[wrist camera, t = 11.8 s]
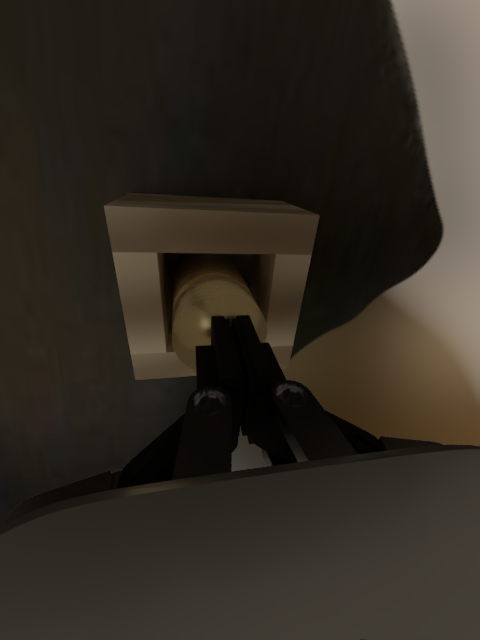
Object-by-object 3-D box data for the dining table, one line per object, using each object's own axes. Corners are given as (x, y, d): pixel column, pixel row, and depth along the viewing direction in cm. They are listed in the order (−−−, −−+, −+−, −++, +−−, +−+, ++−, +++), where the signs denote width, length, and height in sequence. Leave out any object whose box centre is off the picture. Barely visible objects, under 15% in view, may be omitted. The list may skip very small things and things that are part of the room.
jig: (129, 192, 16) (103, 205, 11) (282, 201, 18) (319, 215, 13) (147, 328, 21) (135, 380, 16) (265, 324, 23) (288, 369, 18)
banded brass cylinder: (170, 244, 17) (165, 299, 10) (235, 241, 18) (270, 291, 11) (178, 303, 19) (177, 379, 13) (236, 299, 20) (264, 367, 14)
